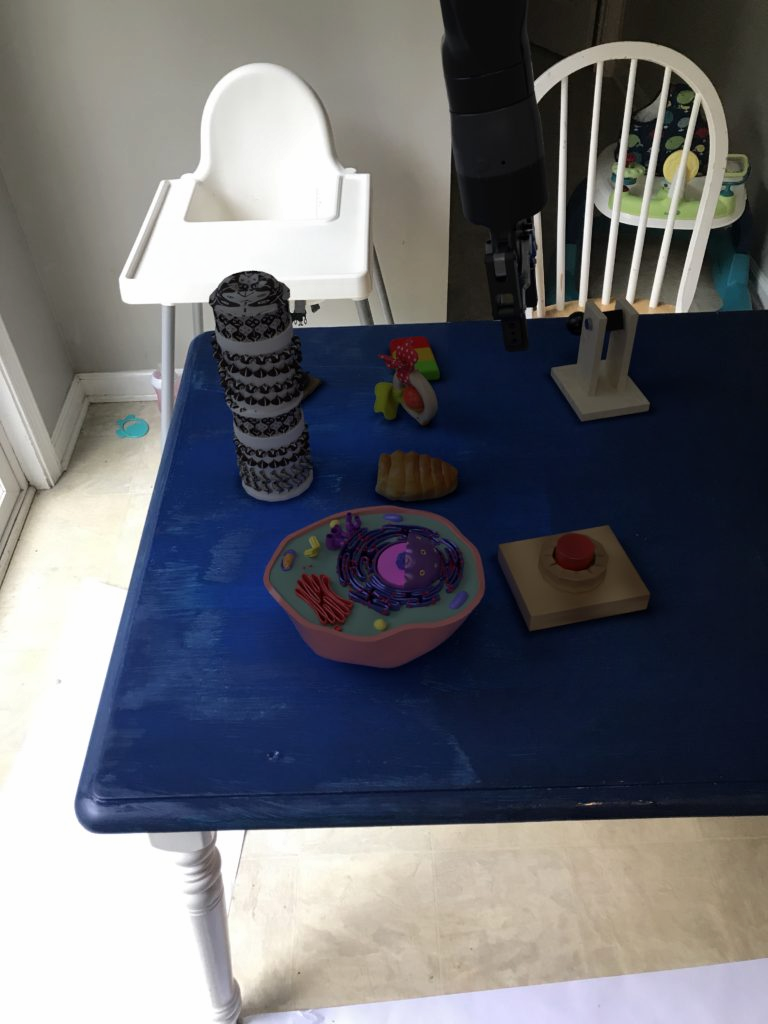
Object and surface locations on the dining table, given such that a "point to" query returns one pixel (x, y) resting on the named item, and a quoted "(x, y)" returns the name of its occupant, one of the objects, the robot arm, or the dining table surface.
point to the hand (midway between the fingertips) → (522, 327)
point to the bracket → (602, 368)
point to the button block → (571, 581)
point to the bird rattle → (406, 387)
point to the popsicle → (420, 356)
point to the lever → (612, 324)
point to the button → (574, 552)
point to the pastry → (414, 476)
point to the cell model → (376, 584)
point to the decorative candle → (262, 384)
